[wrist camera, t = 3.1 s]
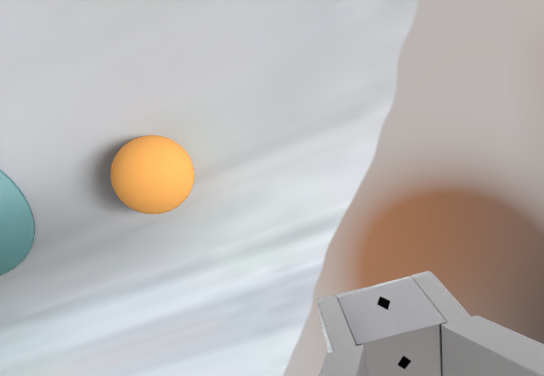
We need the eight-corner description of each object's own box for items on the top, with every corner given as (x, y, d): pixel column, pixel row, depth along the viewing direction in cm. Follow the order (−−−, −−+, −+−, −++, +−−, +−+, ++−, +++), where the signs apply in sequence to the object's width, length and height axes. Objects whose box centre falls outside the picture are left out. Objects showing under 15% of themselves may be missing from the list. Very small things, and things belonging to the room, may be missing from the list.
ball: (112, 137, 25) (81, 160, 20) (184, 119, 25) (171, 138, 20) (141, 201, 27) (119, 237, 22) (206, 185, 27) (200, 216, 22)
